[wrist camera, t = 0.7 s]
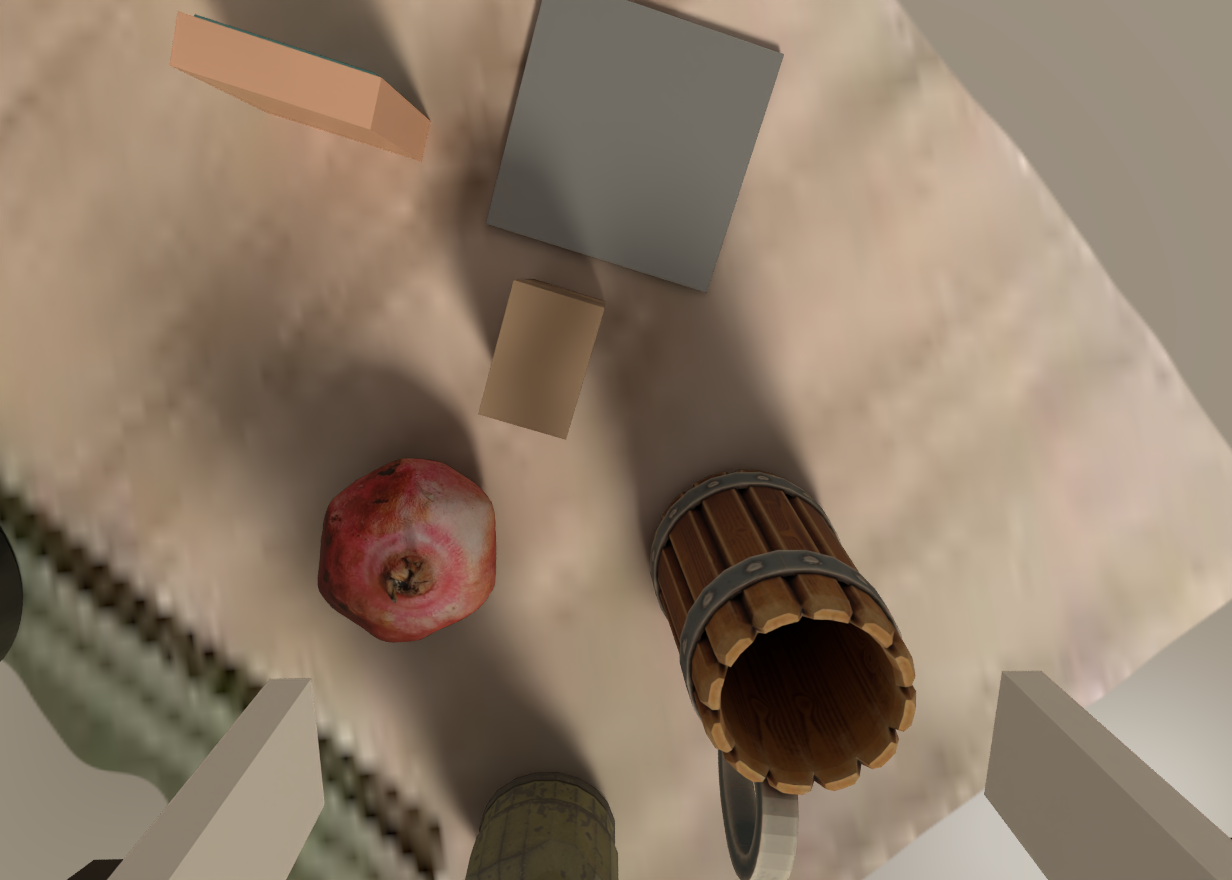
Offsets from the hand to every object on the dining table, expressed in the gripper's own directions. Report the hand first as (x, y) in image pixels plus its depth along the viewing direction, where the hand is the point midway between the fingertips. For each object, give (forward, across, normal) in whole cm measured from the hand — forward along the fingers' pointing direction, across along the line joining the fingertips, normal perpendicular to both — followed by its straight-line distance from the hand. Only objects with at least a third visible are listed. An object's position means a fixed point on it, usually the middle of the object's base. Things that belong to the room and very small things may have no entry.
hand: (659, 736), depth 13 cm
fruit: (+27, -11, -5) cm, 29 cm away
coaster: (+26, +1, +15) cm, 31 cm away
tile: (+27, -14, +16) cm, 34 cm away
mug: (+27, +7, -10) cm, 29 cm away
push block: (+27, -4, +5) cm, 27 cm away
